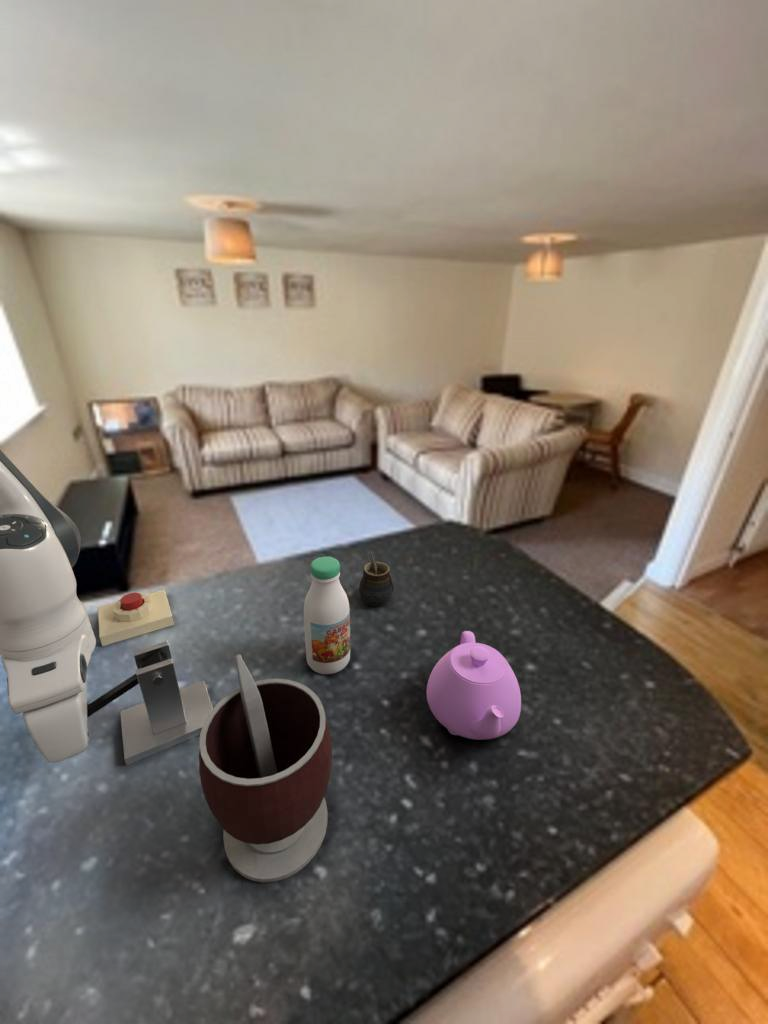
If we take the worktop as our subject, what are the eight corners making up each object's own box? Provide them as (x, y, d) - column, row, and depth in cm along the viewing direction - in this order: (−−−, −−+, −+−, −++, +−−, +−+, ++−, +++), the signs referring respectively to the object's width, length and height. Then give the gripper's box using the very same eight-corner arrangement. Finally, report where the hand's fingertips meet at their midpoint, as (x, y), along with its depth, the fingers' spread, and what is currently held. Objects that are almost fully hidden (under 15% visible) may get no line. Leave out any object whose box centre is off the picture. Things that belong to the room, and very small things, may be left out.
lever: (75, 742, 57) (62, 733, 56) (75, 713, 61) (63, 704, 60) (172, 677, 61) (162, 667, 60) (167, 654, 65) (157, 644, 64)
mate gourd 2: (368, 614, 91) (369, 573, 86) (352, 595, 96) (351, 555, 92) (399, 604, 94) (401, 563, 90) (381, 585, 100) (382, 547, 96)
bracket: (126, 765, 60) (103, 697, 55) (121, 717, 67) (101, 652, 62) (218, 727, 66) (205, 661, 61) (205, 686, 73) (192, 623, 68)
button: (122, 613, 83) (120, 605, 83) (121, 603, 86) (119, 595, 85) (144, 607, 85) (142, 600, 84) (142, 597, 88) (140, 590, 87)
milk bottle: (298, 667, 77) (290, 569, 69) (320, 639, 84) (315, 546, 75) (337, 681, 75) (335, 581, 66) (357, 651, 81) (357, 556, 73)
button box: (102, 646, 81) (96, 629, 79) (100, 615, 88) (95, 599, 86) (174, 625, 86) (170, 608, 85) (166, 597, 94) (162, 581, 92)
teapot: (539, 779, 60) (556, 715, 55) (434, 780, 60) (442, 716, 54) (499, 668, 78) (510, 612, 73) (419, 668, 78) (424, 612, 72)
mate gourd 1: (354, 842, 53) (354, 724, 44) (236, 922, 46) (208, 799, 37) (301, 742, 64) (293, 633, 56) (201, 793, 57) (173, 677, 49)
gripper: (26, 605, 60) (56, 681, 66) (6, 716, 44) (48, 803, 50) (81, 592, 63) (105, 665, 69) (80, 691, 47) (112, 775, 53)
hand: (81, 724), depth 60 cm, fingers closed on lever, 5 cm apart
